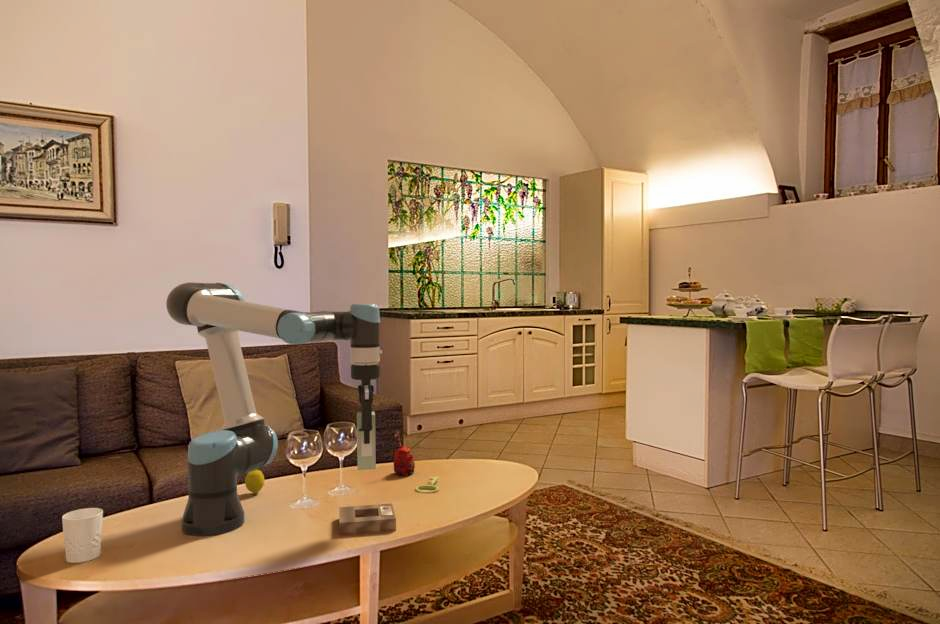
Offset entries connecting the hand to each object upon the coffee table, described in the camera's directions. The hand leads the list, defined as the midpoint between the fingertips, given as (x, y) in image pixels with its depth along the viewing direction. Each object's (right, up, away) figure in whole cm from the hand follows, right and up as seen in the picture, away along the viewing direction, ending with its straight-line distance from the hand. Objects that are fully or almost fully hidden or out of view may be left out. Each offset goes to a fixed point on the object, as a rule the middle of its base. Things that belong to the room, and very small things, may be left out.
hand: (366, 453), depth 161 cm
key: (+14, -19, +32) cm, 40 cm away
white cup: (-61, -19, -19) cm, 67 cm away
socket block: (0, -19, 0) cm, 19 cm away
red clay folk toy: (+5, -18, +47) cm, 51 cm away
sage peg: (0, -4, 0) cm, 4 cm away
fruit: (-38, -18, +26) cm, 50 cm away
